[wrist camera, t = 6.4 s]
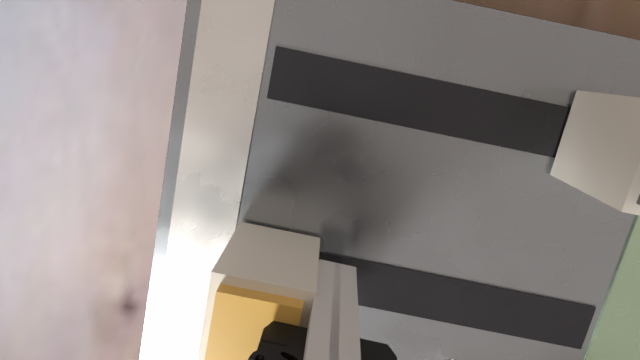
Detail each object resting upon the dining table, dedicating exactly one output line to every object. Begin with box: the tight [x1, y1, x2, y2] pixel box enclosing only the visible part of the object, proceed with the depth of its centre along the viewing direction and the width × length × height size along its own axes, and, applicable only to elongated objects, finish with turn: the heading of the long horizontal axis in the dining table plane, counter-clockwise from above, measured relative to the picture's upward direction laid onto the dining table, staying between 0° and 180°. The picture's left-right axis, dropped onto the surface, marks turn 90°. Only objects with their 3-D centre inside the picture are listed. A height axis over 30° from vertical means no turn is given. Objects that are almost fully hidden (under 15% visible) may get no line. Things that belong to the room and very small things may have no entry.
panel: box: [140, 0, 640, 360], centre depth 20 cm, size 20×21×2 cm
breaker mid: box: [197, 222, 320, 360], centre depth 16 cm, size 3×3×5 cm
